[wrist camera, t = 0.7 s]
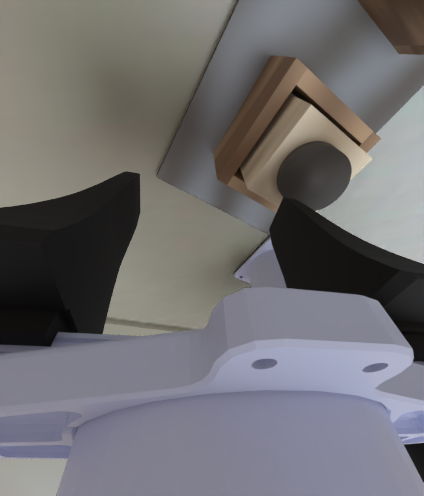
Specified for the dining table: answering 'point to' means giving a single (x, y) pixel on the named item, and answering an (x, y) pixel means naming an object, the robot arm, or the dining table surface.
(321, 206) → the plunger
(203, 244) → the dining table surface
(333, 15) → the stand
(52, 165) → the dining table surface
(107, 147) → the dining table surface
